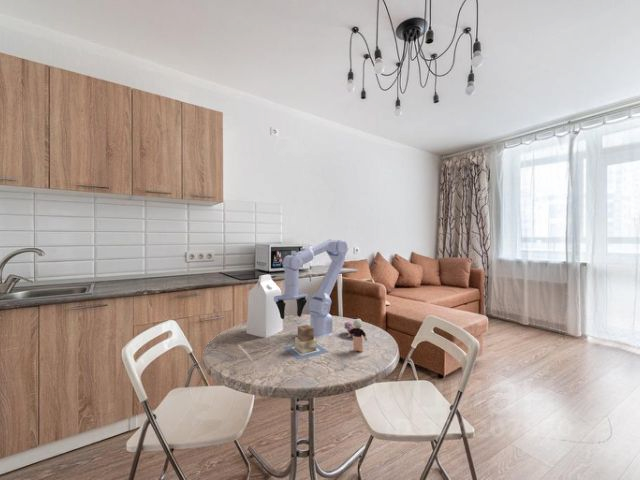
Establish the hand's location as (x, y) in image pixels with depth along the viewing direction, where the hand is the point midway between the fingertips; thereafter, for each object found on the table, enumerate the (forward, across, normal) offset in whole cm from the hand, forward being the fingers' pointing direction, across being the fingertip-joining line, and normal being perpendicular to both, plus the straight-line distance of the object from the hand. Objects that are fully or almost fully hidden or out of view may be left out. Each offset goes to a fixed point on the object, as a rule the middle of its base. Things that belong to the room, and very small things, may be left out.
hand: (290, 317), depth 119 cm
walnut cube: (+6, +1, -11) cm, 12 cm away
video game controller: (+10, +27, -7) cm, 29 cm away
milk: (+11, -4, +18) cm, 21 cm away
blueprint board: (+10, +1, -11) cm, 15 cm away
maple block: (+10, +1, -11) cm, 15 cm away
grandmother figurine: (+10, +18, -22) cm, 30 cm away
